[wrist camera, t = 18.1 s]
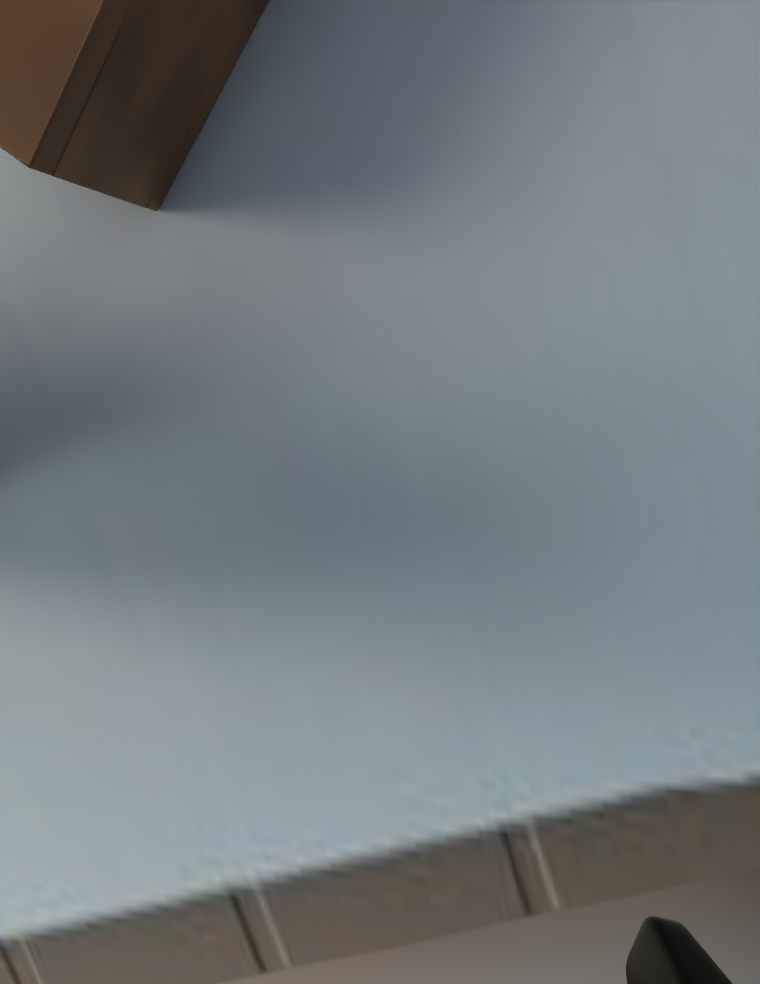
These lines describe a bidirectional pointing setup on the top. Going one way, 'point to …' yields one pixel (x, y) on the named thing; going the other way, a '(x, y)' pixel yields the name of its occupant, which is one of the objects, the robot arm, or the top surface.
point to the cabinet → (115, 86)
